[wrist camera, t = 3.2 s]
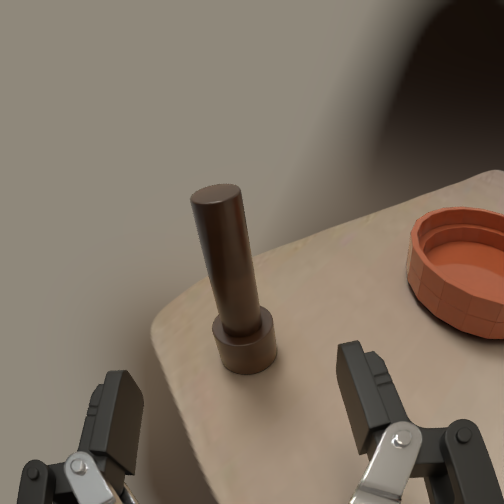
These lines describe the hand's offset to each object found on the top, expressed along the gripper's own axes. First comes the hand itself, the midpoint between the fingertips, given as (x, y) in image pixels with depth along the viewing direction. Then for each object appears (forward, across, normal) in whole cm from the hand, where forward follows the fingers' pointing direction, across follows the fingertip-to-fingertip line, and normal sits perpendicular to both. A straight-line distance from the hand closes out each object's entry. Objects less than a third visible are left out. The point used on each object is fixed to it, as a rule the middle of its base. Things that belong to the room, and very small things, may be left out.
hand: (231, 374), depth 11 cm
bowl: (+10, -21, +8) cm, 25 cm away
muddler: (+8, 0, +8) cm, 11 cm away
